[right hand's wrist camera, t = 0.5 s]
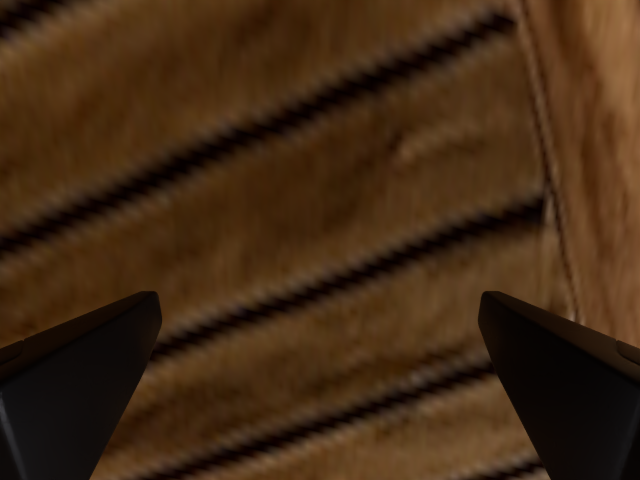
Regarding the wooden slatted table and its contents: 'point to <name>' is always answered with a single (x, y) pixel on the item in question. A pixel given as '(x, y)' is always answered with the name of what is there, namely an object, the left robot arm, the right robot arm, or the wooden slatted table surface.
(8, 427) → the right robot arm
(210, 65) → the wooden slatted table surface
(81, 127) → the wooden slatted table surface
